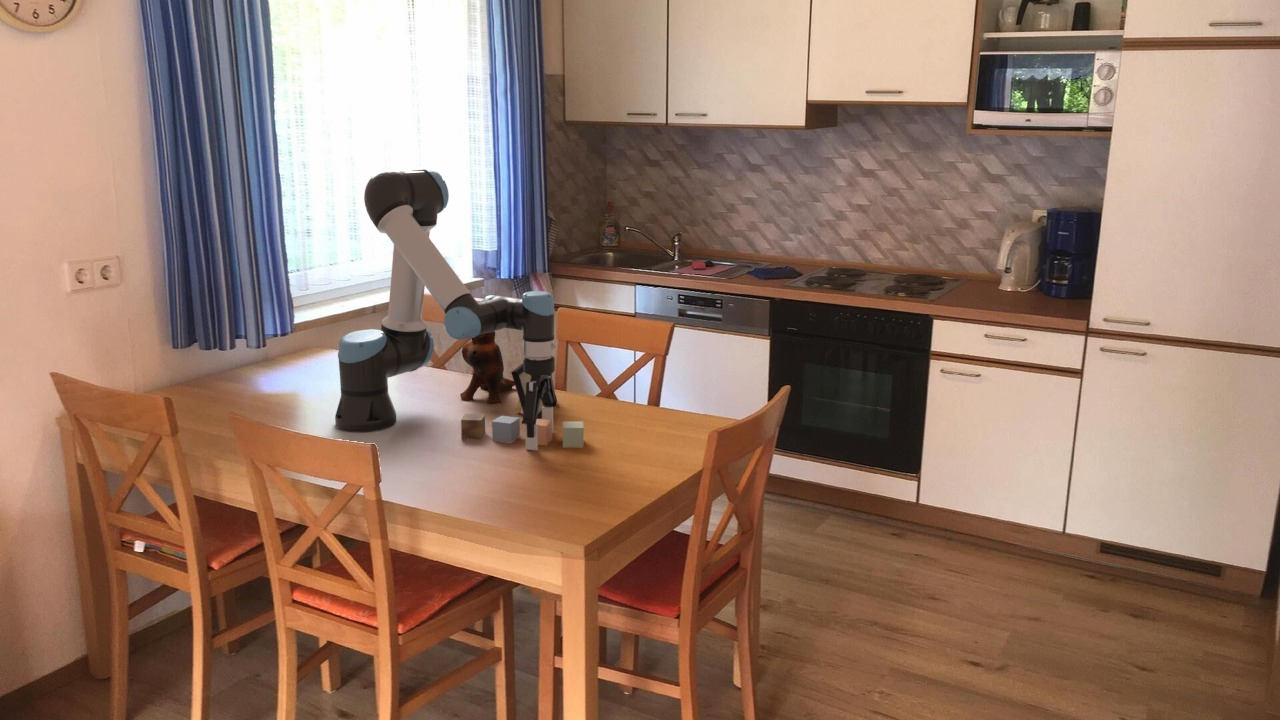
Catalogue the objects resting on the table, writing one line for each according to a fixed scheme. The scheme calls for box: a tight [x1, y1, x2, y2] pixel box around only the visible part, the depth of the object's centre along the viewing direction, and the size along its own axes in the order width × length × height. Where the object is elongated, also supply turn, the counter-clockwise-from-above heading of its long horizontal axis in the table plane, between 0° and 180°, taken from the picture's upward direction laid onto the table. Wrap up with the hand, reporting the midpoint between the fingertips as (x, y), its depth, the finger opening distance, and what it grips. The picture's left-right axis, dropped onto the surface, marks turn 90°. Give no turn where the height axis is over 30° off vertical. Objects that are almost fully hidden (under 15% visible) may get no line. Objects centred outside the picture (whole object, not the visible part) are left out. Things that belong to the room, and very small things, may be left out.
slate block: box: [491, 415, 521, 444], centre depth 246 cm, size 5×5×5 cm
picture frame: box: [510, 362, 558, 419], centre depth 265 cm, size 23×9×15 cm, turn 168°
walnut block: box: [460, 413, 486, 440], centre depth 247 cm, size 5×5×5 cm
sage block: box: [562, 421, 585, 448], centre depth 242 cm, size 5×5×5 cm
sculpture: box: [459, 331, 515, 405], centre depth 280 cm, size 19×18×30 cm
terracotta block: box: [536, 418, 553, 446], centre depth 244 cm, size 5×5×5 cm
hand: (540, 440), depth 244 cm, fingers open, 13 cm apart
